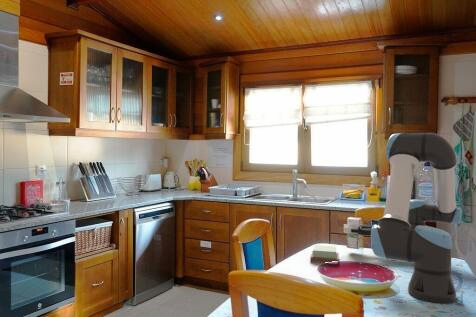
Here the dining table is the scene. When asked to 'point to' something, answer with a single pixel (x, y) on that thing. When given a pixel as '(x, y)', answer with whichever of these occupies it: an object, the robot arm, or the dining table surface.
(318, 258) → the walnut slab
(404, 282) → the dining table surface
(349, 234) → the syrup box
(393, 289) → the dining table surface
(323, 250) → the sage slab
